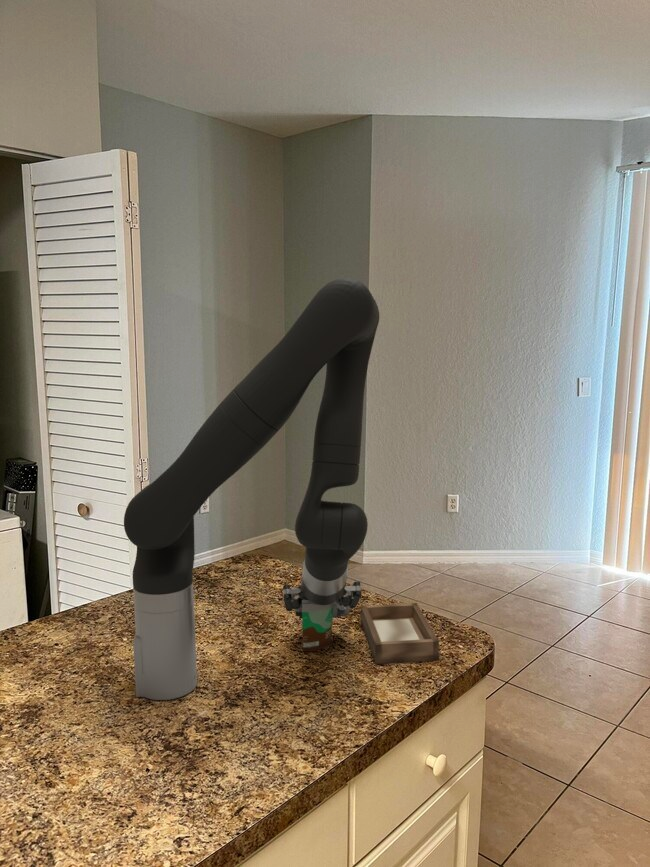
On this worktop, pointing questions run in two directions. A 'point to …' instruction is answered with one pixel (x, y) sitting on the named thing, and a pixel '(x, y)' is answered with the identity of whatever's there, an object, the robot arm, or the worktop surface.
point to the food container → (316, 625)
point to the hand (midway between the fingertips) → (319, 612)
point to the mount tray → (399, 633)
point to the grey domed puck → (341, 614)
